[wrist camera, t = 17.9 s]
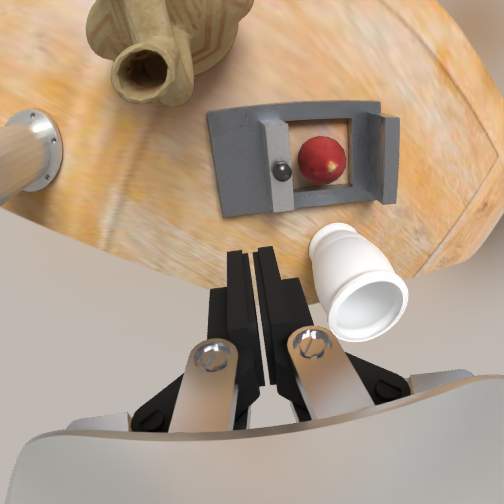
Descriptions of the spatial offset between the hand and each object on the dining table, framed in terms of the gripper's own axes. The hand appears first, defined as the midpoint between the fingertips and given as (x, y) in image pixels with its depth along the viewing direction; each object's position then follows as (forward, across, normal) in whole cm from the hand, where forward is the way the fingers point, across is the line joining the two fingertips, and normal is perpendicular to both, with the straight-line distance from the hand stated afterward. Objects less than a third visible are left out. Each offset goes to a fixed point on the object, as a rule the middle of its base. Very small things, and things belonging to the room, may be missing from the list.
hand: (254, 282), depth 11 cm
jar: (+29, -13, +17) cm, 36 cm away
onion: (+29, -10, +2) cm, 31 cm away
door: (+28, -4, +3) cm, 28 cm away
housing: (+29, -8, +2) cm, 30 cm away
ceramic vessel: (+29, +5, -16) cm, 34 cm away
